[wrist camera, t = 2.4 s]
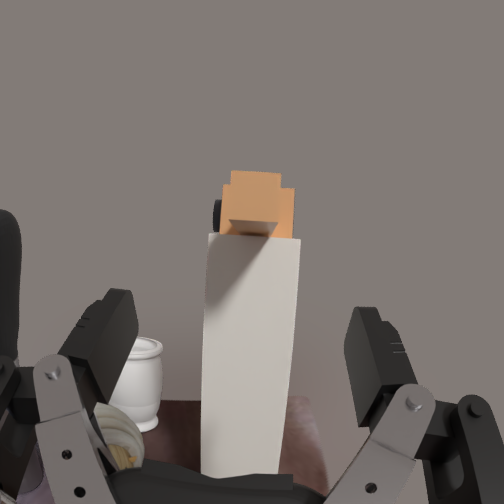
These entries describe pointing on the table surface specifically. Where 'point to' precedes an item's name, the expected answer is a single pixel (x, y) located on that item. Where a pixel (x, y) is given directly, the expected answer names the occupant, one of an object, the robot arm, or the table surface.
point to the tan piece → (257, 206)
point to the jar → (140, 384)
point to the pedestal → (246, 350)
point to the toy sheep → (121, 436)
